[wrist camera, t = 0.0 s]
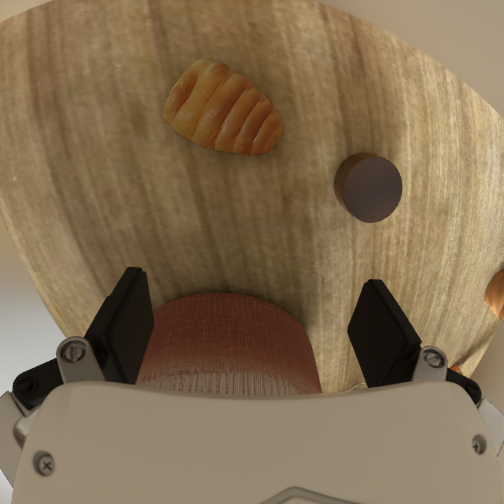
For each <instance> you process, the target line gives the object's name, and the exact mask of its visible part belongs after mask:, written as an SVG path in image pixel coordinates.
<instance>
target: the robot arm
mask: <svg viewBox="0 0 504 504" xmlns="http://www.w3.org/2000/svg"><path fill="white" fill-rule="evenodd" d="M153 328H154V316H153V310H152V305H151V299H150V293H149V287H148V281H147V274H146V272H145V271H142V268H139V267H128V268H127V269H126V270H125V272H124V274H123V275H122V277H121V278H120V280H119V282H118V283H117V285H116V286H115V288H114V290H113V291H112V293H111V295H109V296H108V297H107V298H106V299H105V301H104V303H103V304H102V306H101V308H100V309H99V311H98V313H97V314H96V316H95V318H94V320H93V321H92V323H91V325H90V327H89V329H88V330H87V332H86V334H85V336H84V338H83V337H80V336H73V337H69V338H67V339H65V340H64V341H63V342H61V343H60V345H59V346H58V348H57V351H56V357H57V358H55V359H52V360H50V361H48V362H46V363H43V364H41V365H39V366H36V367H35V368H32V369H30V370H28V371H26V372H23V373H21V374H19V375H18V376H17V377H16V379H15V381H14V382H13V391H12V392H11V393H10V392H9V391H7V392H5V393H4V394H3V395H2V396H1V397H0V468H1V470H2V472H3V473H4V475H5V477H6V478H7V480H8V481H9V483H10V484H11V486H12V487H13V494H12V502H11V504H504V479H503V475H502V472H501V467H500V464H499V461H498V458H497V457H498V455H499V452H500V450H501V448H502V446H503V444H504V414H503V413H502V412H501V411H500V410H499V409H498V408H497V407H496V406H494V405H493V404H492V403H491V402H490V401H489V400H488V399H487V398H485V397H483V398H481V390H480V387H479V386H478V384H477V383H476V382H474V381H473V380H471V379H469V378H467V377H465V376H463V375H461V374H460V373H458V372H456V371H454V370H452V369H450V368H448V367H447V366H448V360H447V357H446V355H445V354H444V352H442V351H441V350H440V349H439V348H437V347H434V346H424V347H423V348H421V346H420V344H421V342H422V341H421V339H420V338H419V336H418V334H417V333H416V331H415V330H414V328H413V326H412V325H411V323H410V322H409V320H408V318H407V317H406V315H405V314H404V312H403V311H402V309H401V308H400V306H399V305H398V303H397V302H396V300H395V299H394V297H393V296H392V294H391V293H390V291H389V290H388V288H387V287H386V285H385V284H384V282H383V281H382V280H379V279H370V280H368V281H367V282H366V283H364V285H363V288H362V291H361V294H360V296H359V299H358V302H357V305H356V307H355V310H354V313H353V315H352V318H351V320H350V323H349V325H348V329H347V332H348V336H349V339H350V341H351V344H352V346H353V349H354V351H355V354H356V357H357V359H358V362H359V365H360V367H361V370H362V373H363V375H364V378H365V381H366V384H367V386H368V388H366V389H359V390H351V391H342V392H332V393H320V394H305V395H280V396H246V395H220V394H205V393H193V392H183V391H175V390H166V389H158V388H150V387H144V386H137V385H136V381H137V378H138V374H139V371H140V368H141V365H142V362H143V358H144V355H145V352H146V349H147V346H148V343H149V340H150V337H151V334H152V331H153Z"/></svg>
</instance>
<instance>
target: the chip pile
mask: <svg viewBox="0 0 504 504" xmlns="http://www.w3.org/2000/svg"><path fill="white" fill-rule="evenodd" d="M485 301H486V302H487V303H488V304H489V305H490V307H491V309H492V311H493V312H494V313H495V314H496V316H497V317H498V318H499V319H500V320H503V321H504V270H502V271H500V272H499V273H497V274H496V275H495V276H494V278H493V279H492V280H491V282H490V284H489V285H488V287H487V290H486V293H485Z"/></svg>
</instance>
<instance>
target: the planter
mask: <svg viewBox="0 0 504 504" xmlns="http://www.w3.org/2000/svg"><path fill="white" fill-rule="evenodd" d="M153 316H154V328H153V331H152V334H151V337H150V340H149V343H148V346H147V349H146V352H145V355H144V358H143V362H142V365H141V368H140V371H139V374H138V378H137V381H136V385H137V386H144V387H150V388H158V389H166V390H175V391H183V392H193V393H205V394H220V395H246V396H280V395H305V394H320V393H322V390H321V385H320V380H319V375H318V371H317V366H316V362H315V358H314V353H313V350H312V346H311V343H310V341H309V338H308V336H307V334H306V332H305V330H304V329H303V327H302V326H301V324H300V323H299V322H298V321H297V320H296V319H295V318H294V317H292V316H291V315H290V314H289V313H287V312H286V311H284V310H283V309H281V308H279V307H277V306H275V305H273V304H271V303H269V302H266V301H264V300H261V299H258V298H254V297H250V296H246V295H240V294H233V293H201V294H194V295H189V296H185V297H181V298H178V299H176V300H173V301H171V302H168V303H166V304H165V305H163V306H161V307H160V308H158V309H157V310H156V311H154V312H153Z"/></svg>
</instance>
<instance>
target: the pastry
mask: <svg viewBox="0 0 504 504" xmlns="http://www.w3.org/2000/svg"><path fill="white" fill-rule="evenodd" d="M163 120H164V121H165V123H167V124H169V125H170V126H171V127H173V129H174V130H175V132H177V133H178V134H179V135H180V136H182V137H183V138H186V139H189V140H191V141H193V142H196V143H198V144H200V145H201V146H203V147H205V148H211V149H214V150H218V151H225V152H228V153H239V154H244V155H247V156H256V155H260V154H262V153H265V152H268V151H270V150H271V149H272V148H273V147H274V146H275V145H276V143H277V142H278V141H279V140H280V139H281V138H282V136H283V125H282V118H281V116H280V115H279V114H278V112H277V111H276V110H275V109H274V108H273V107H272V104H271V102H270V101H269V100H268V98H267V97H266V96H265V95H264V94H262V93H261V92H260V91H259V90H258V89H256V88H255V87H254V85H253V84H252V82H251V80H250V79H249V78H248V77H245V76H241V75H239V74H237V73H235V72H234V71H232V70H230V69H229V68H228V67H227V66H226V65H224V64H221V63H216V62H213V61H212V60H211V59H209V58H201V59H199V60H197V61H196V62H194V63H193V64H192V65H191V67H189V68H188V69H187V70H186V71H185V72H184V73H183V75H182V76H181V77H180V78H179V79H178V81H177V82H176V84H175V85H174V86H173V88H172V89H171V91H170V94H169V98H168V99H167V100H166V103H165V106H164V109H163Z"/></svg>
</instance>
